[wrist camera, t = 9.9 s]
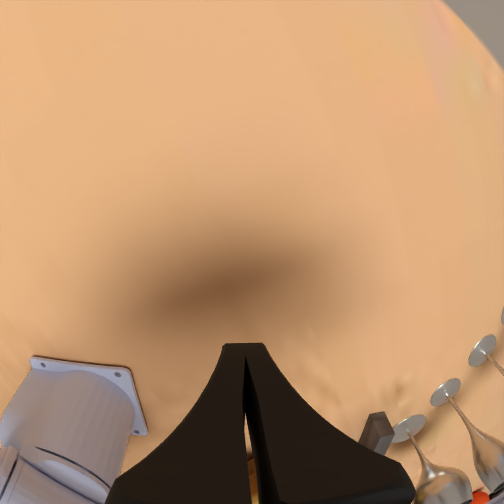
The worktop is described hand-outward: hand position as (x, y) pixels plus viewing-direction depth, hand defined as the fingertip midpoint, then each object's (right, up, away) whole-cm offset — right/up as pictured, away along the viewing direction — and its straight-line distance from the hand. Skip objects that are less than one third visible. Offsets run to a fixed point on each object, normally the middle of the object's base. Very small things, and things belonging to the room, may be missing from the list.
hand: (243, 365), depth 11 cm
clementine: (+52, -53, +32) cm, 81 cm away
